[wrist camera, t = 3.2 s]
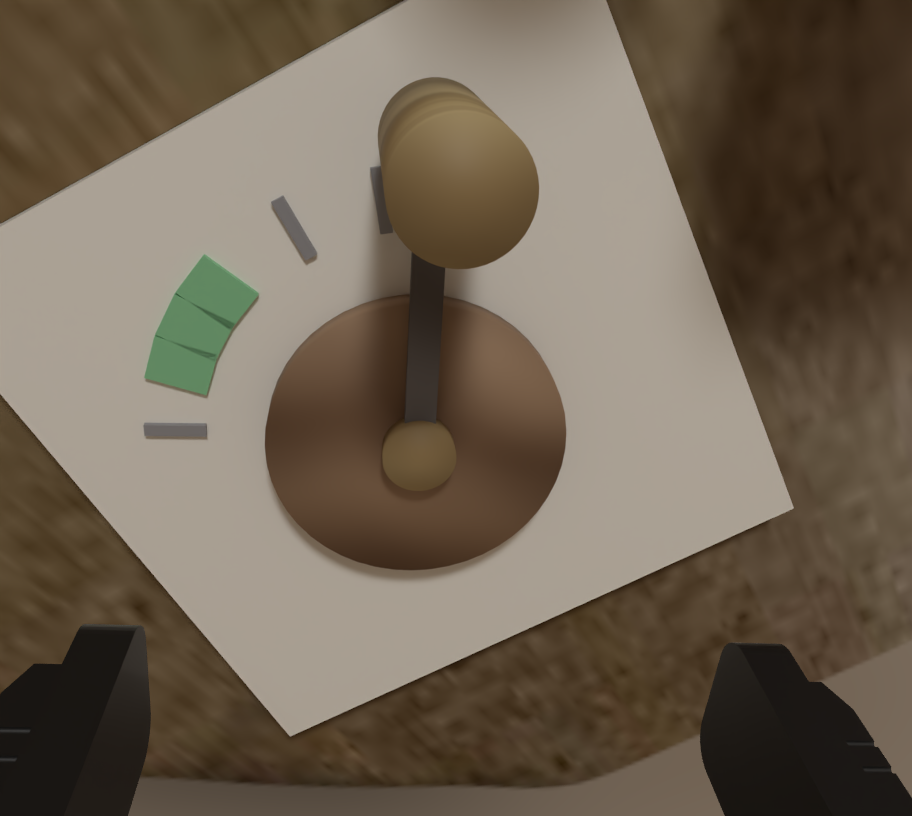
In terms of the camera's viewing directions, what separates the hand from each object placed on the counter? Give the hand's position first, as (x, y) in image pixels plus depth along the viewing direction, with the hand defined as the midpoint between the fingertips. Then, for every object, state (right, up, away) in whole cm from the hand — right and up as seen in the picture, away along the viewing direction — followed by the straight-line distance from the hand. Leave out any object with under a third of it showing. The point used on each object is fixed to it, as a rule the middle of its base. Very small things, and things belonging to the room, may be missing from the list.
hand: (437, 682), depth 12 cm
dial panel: (-1, +4, +19) cm, 20 cm away
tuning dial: (-1, +6, +16) cm, 17 cm away
